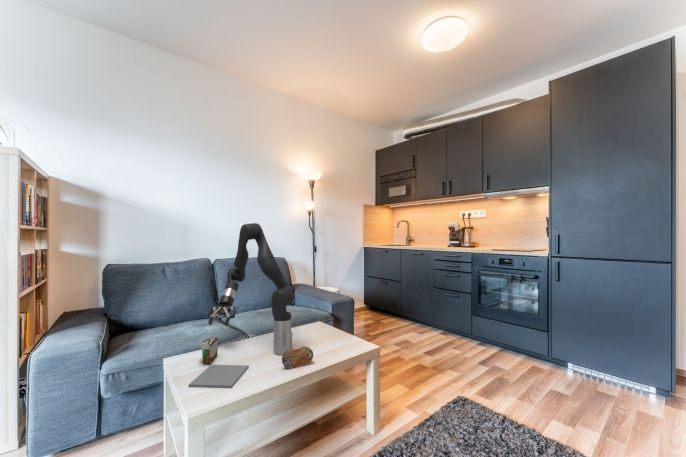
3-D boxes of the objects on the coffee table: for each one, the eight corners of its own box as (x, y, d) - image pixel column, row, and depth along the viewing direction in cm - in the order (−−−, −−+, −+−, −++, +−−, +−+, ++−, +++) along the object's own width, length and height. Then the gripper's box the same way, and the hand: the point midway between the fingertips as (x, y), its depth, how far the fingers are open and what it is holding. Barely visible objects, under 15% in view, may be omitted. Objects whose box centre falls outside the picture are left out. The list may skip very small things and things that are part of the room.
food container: (206, 356, 148) (206, 336, 148) (218, 355, 148) (218, 336, 149) (195, 367, 136) (195, 345, 136) (209, 366, 136) (209, 345, 136)
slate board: (248, 367, 135) (248, 365, 135) (231, 388, 117) (231, 385, 117) (211, 366, 136) (211, 364, 136) (188, 386, 118) (188, 384, 118)
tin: (282, 370, 132) (282, 352, 132) (280, 368, 134) (280, 349, 135) (313, 363, 139) (313, 346, 139) (311, 361, 141) (311, 344, 142)
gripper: (213, 294, 162) (201, 321, 150) (237, 294, 161) (228, 321, 149) (217, 301, 167) (207, 327, 155) (241, 301, 166) (232, 328, 154)
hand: (217, 324), depth 152 cm, fingers open, 8 cm apart
